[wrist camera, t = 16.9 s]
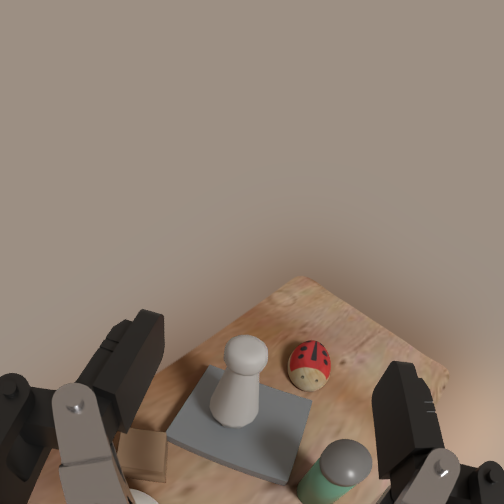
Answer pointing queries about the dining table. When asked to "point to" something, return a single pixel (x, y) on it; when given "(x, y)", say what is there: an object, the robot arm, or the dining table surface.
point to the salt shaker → (239, 382)
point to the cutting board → (243, 431)
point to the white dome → (142, 497)
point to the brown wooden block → (143, 454)
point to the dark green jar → (335, 472)
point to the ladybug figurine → (309, 366)
